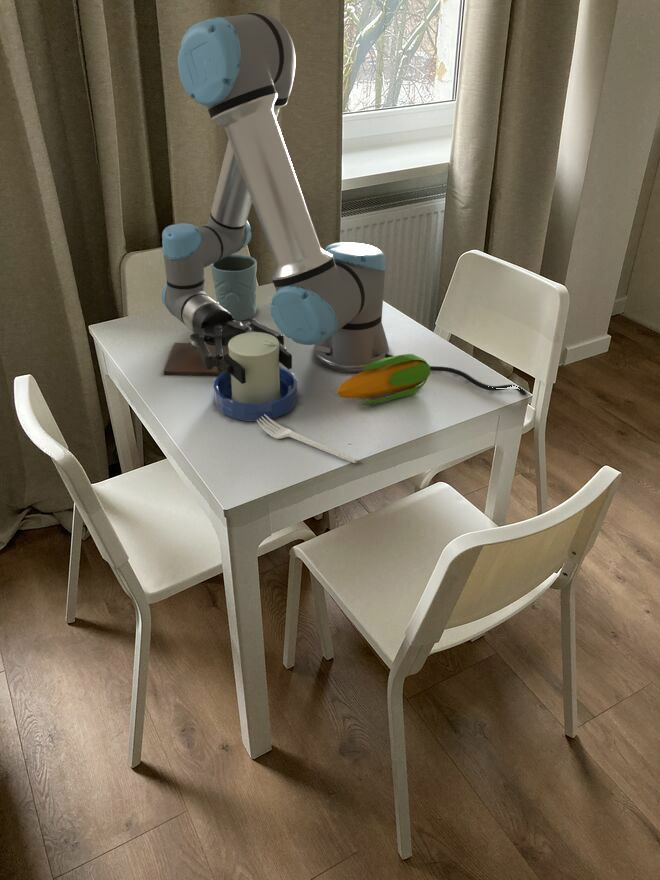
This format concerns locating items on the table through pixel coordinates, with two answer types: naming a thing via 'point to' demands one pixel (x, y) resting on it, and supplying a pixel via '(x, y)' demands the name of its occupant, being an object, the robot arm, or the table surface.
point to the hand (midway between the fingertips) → (267, 369)
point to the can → (256, 367)
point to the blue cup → (236, 285)
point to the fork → (298, 438)
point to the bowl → (256, 410)
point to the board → (190, 361)
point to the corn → (387, 379)
